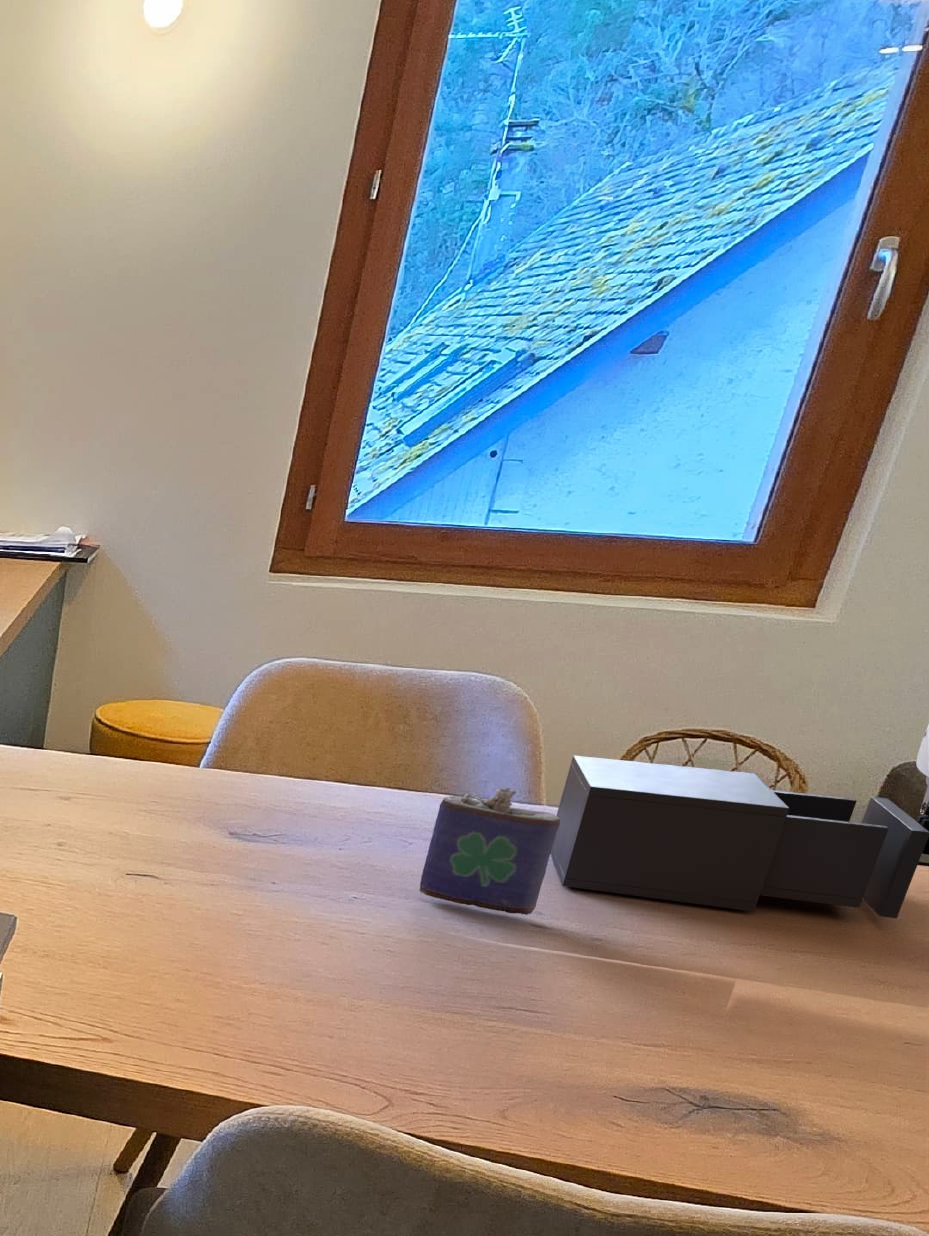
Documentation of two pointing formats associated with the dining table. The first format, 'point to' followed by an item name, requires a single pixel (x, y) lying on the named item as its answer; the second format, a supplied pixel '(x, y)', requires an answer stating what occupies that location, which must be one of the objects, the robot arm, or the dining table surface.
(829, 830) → the grey sliding drawer
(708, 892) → the drawer cabinet
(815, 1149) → the dining table surface
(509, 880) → the flask
